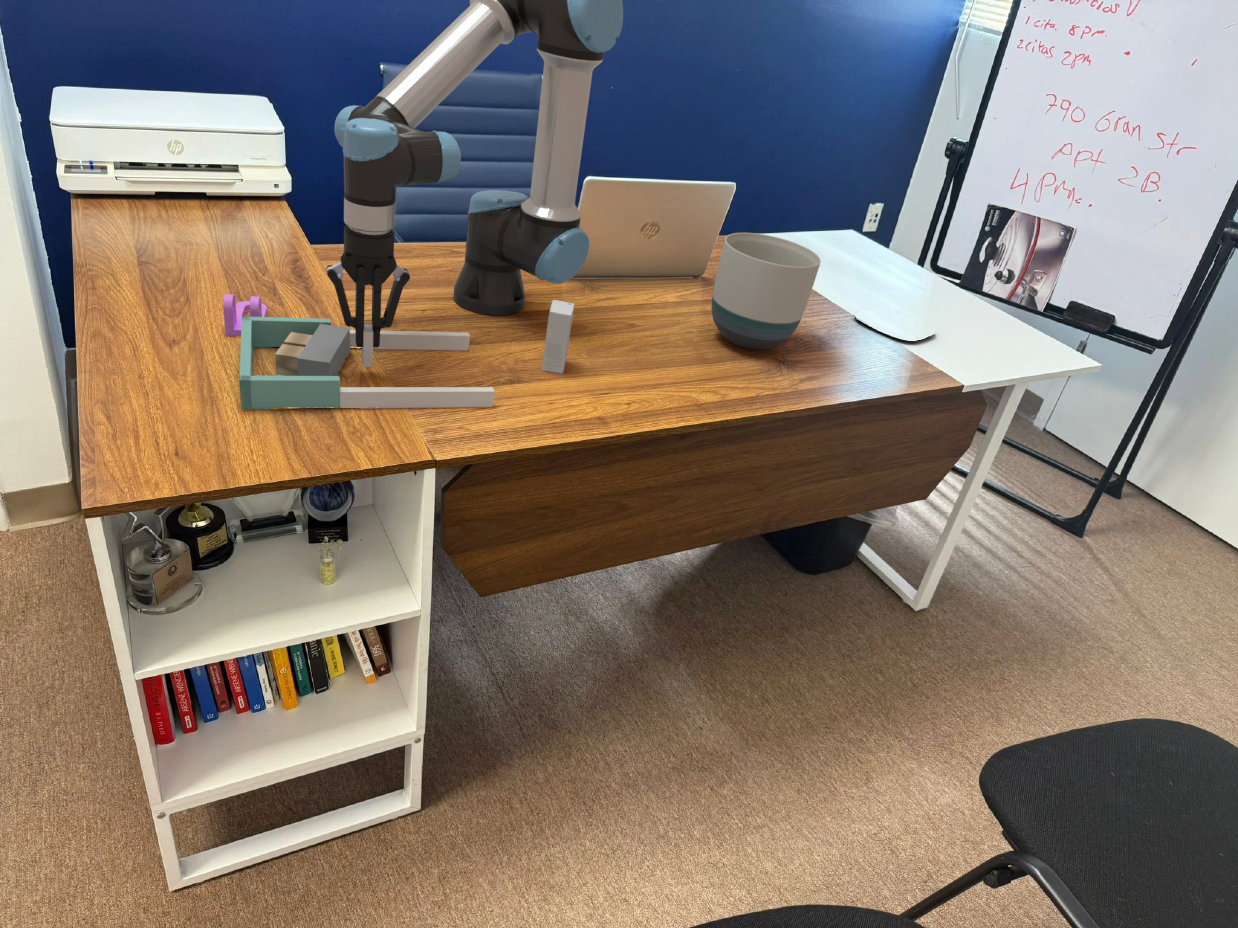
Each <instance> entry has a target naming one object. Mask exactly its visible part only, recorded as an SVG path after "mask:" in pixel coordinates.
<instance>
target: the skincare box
mask: <svg viewBox="0 0 1238 928" xmlns="http://www.w3.org/2000/svg"><path fill="white" fill-rule="evenodd" d="M550 304H551V305H550V308H549V313H548V319H547V327H546V335H545V341H544V347H543V348H544V349H543V355H542V356H543V357H542V363H541V371H543V372H550V373H554V374H560V375H561V374H562V375H563V374H564V371H565V367H566V362H567V356H568V350H569V349H568V348H569V343H570V338H571V337H570V336H571V330H572V323H573V316H574V310H575V303H572V302H567V301H563V300H557V299H552V302H551V303H550Z"/></svg>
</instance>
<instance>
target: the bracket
mask: <svg viewBox="0 0 1238 928" xmlns="http://www.w3.org/2000/svg"><path fill="white" fill-rule="evenodd" d="M222 302H223V303H222V305H223V306H222V308H223V321H224V335H225V337H236V336H241V327H242V316H245V315H246V313H245V311H247V310H250V311H249V317H267V316H266V314H267V315H268V309H267V308H268V306H267V305H266V304H264V303H263V302H262V297H261V296H257V295H256V296H255V295H251V296H250V300H244V301H239V302H237V301H236V295H235V294H231V293H225V294H224V295H223V301H222ZM244 314H245V315H244Z"/></svg>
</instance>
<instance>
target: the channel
mask: <svg viewBox="0 0 1238 928" xmlns="http://www.w3.org/2000/svg"><path fill="white" fill-rule="evenodd" d="M470 340H471V334H470V333H469V332H465V331H463V332H461V331H460V332H459V331H458V332H457V331H456V332H455V331H420V330H419V331H413V330H412V331H411V330H381V331H380V345H379V347H373V350H397V351H398V350H404V351H405V350H406V351H407V350H409V351H411V350H412V351H413V350H414V351H417V350H418V351H469V350H470ZM352 346H353V347H357V345H356V341H355V329H350V347H352ZM495 392H496V391H495V389H494V387H493V386H486V387H485V386H480V387H479V386H469V387H467V386H465V387H464V386H459V387H458V386H457V387H456V386H452V387H451V386H449V387H448V386H446V387H445V386H441V387H439V386H435V387H434V386H433V387H432V386H429V387H427V386H421V387H420V386H418V387H416V386H414V387H413V386H409V387H408V386H405V387H400V386H399V387H397V386H396V387H395V386H394V387H393V386H388V387H383V386H382V387H381V386H380V387H378V386H377V387H376V386H375V387H373V386H372V387H370V386H369V387H367V386H366V387H365V386H364V387H362V386H357V387H356V386H355V387H354V386H350V387H346V386H343V387H341V386H340V408H341V407H342V408H343V407H344V408H345V407H346V408H348V407H351V408H354V407H355V408H356V407H362V408H361V409H364V408H363V407H375V408H374V409H377V408H376V407H379V408H378V409H433V408H435V409H436V408H437V409H438V408H439V409H440V408H441V409H442V408H446V409H447V408H448V409H450V408H456V409H457V408H460V409H461V408H494V401H495V394H496V393H495Z"/></svg>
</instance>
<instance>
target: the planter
mask: <svg viewBox="0 0 1238 928" xmlns="http://www.w3.org/2000/svg"><path fill="white" fill-rule="evenodd" d="M821 263H822V262H821V257H820V256H819V255H818V254H817V253H815V251H813V250H811V249H810V248H807V247H805V246H803V245H802V244H799V243H797V242H794V241H790V240H788V239H786V238H785V239H784V238H781V237H777V236H773V235H768V234H763V233H756V232H755V233H754V232H735V233H734V232H733V233H731V234H728V235H726V237H725V238H724V241H723V245H722V250H721V252H720V257H719V261H718V266H717V271H716V274H715V280H714V285H713V289H712V290H713V291H712V296H711V315H712V320H713V322H714V324H715V326H716V328H717V330H718V331H719V333H720V334H721V335H722V336H723V337H724V338H725V339H727V340H728V341H729V342H730V343H732V344H734V345H736V346H738V347H741V348H743V347H744V349H747V348H748V350H753V349H754V350H756V351H758V350H759V351H761V350H768V349H771V348H775V347H777V346H779V345H782V344H783V343H784V342H786V341H787V340H789V339H790V337H791V336H792V335H793V334H794V332H795V331H796V330H797V328H798V327H799V324H800V322H801V320H802V318H803V316H804V313H805V311H806V307H807V305H808V302H809V299H810V296H811V293H812V291H813V287H814V284H815V281H816V277H817V275H818V271H819V269H820V265H821Z"/></svg>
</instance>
